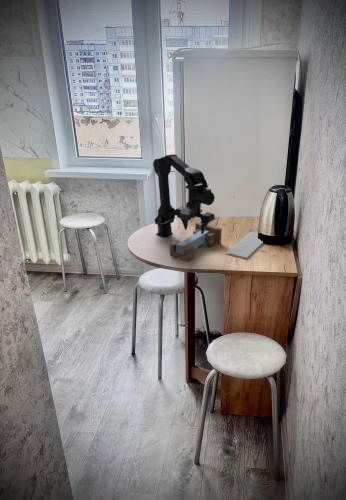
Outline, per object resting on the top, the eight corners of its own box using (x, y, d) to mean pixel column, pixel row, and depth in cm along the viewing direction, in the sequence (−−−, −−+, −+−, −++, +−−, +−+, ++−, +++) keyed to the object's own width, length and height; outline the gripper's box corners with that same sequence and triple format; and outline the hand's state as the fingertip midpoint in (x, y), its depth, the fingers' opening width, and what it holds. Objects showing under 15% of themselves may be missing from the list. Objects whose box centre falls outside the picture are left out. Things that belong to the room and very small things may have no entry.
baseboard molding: (222, 254, 182) (246, 260, 176) (222, 248, 180) (246, 254, 174) (248, 232, 205) (270, 237, 199) (248, 227, 204) (270, 232, 198)
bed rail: (176, 252, 177) (176, 244, 175) (202, 237, 193) (202, 229, 191) (183, 255, 175) (183, 246, 173) (209, 239, 191) (209, 231, 189)
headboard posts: (166, 254, 180) (166, 239, 176) (197, 237, 199) (197, 222, 195) (191, 263, 172) (191, 246, 169) (221, 243, 191) (221, 228, 188)
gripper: (167, 200, 173) (167, 232, 180) (202, 208, 163) (201, 242, 170) (181, 194, 181) (181, 225, 188) (215, 201, 171) (214, 234, 178)
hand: (194, 231), depth 181 cm, fingers open, 9 cm apart
